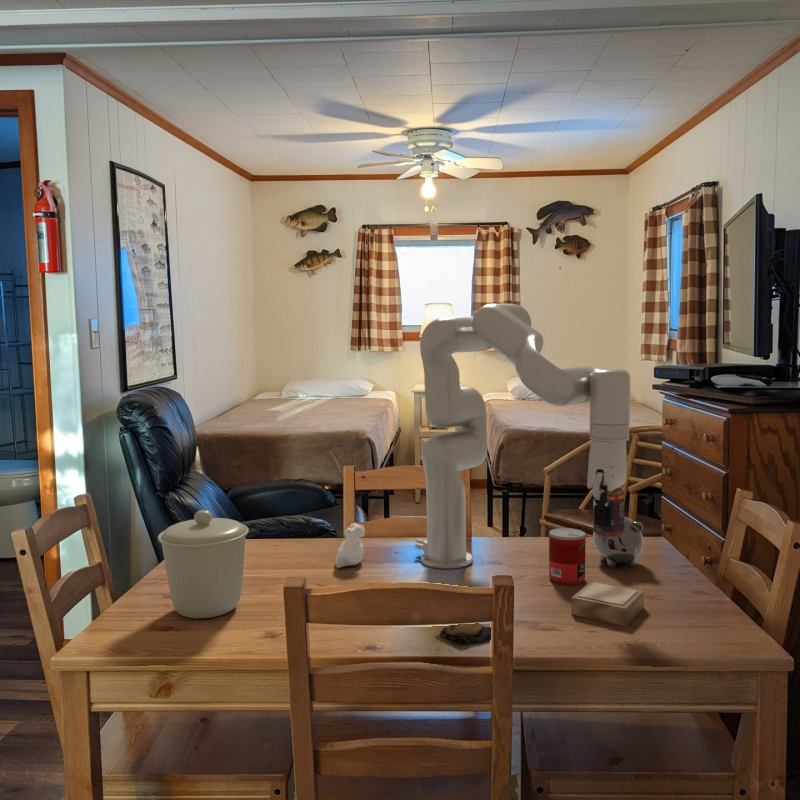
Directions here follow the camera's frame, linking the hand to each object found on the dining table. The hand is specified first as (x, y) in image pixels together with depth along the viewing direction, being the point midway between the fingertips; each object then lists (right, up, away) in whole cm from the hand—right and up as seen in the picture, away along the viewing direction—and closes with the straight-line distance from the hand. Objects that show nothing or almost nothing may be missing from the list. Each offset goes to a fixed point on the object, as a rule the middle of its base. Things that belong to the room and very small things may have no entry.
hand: (608, 520), depth 148 cm
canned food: (-4, -17, +20) cm, 27 cm away
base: (0, -19, +2) cm, 19 cm away
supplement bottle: (0, -3, 0) cm, 3 cm away
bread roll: (-29, -21, -9) cm, 37 cm away
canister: (-82, -20, +7) cm, 84 cm away
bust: (-54, -16, +35) cm, 66 cm away
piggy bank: (+11, -16, +31) cm, 36 cm away
